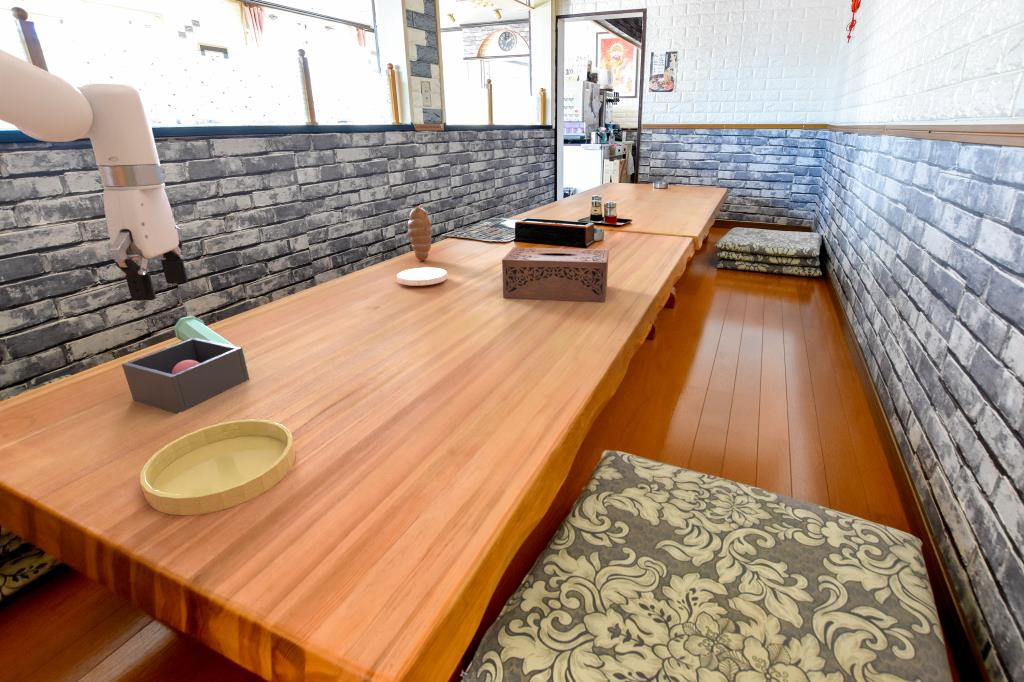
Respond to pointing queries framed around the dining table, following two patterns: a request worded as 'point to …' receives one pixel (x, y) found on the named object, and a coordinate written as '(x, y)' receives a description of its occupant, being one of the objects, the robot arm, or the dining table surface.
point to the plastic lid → (421, 276)
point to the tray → (217, 467)
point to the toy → (184, 366)
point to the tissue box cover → (555, 274)
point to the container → (197, 331)
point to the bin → (185, 374)
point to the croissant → (420, 232)
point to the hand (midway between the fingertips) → (161, 291)
